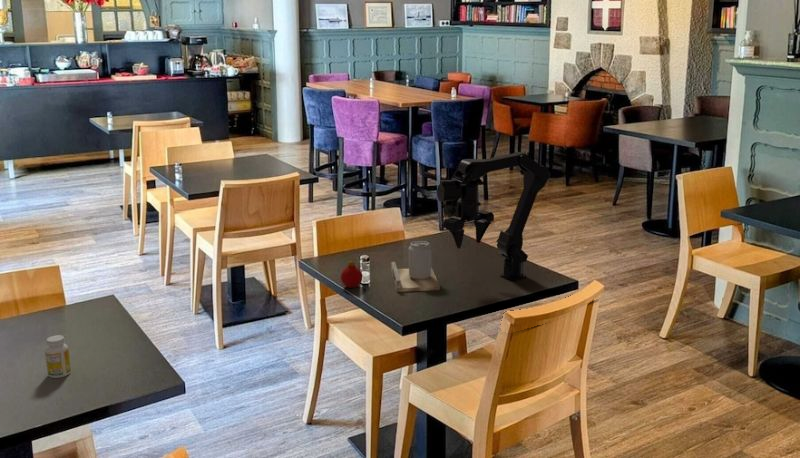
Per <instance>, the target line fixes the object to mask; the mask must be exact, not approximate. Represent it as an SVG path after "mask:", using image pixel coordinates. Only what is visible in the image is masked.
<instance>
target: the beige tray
mask: <svg viewBox="0 0 800 458" xmlns="http://www.w3.org/2000/svg"><path fill="white" fill-rule="evenodd" d="M391 275H392V280H393V283H394V286H395V290H396V293H400V292H426V291H427V292H428V291H441V286H440V283H439V281H438V279H437V277H436V274H435V272H434V270H433V268H432V267H431V276H430V277H429V278H428V279H426V280H414V279H412V278H411V277H410V276H409V268H397V263H396V261H391Z"/></svg>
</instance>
